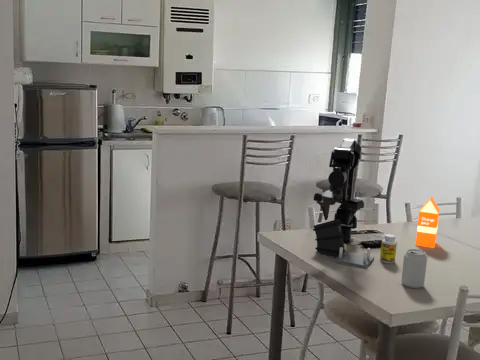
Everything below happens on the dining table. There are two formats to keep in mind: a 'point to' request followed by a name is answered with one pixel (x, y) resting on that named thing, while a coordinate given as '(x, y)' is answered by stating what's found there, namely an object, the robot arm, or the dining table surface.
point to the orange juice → (428, 224)
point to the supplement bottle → (388, 249)
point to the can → (414, 268)
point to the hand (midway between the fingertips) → (336, 222)
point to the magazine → (329, 238)
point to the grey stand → (354, 258)
